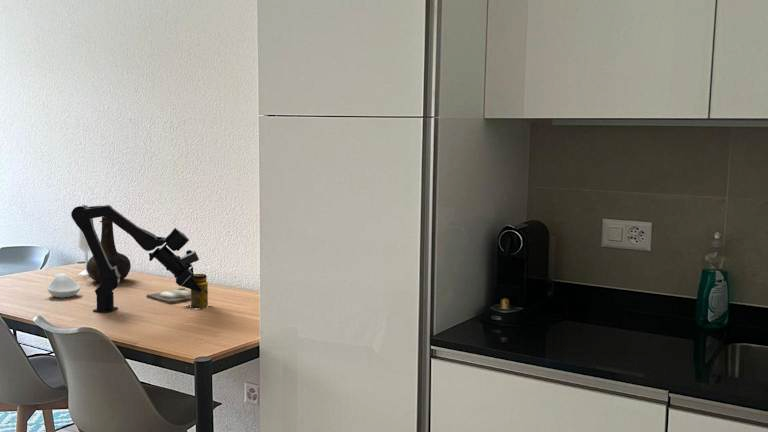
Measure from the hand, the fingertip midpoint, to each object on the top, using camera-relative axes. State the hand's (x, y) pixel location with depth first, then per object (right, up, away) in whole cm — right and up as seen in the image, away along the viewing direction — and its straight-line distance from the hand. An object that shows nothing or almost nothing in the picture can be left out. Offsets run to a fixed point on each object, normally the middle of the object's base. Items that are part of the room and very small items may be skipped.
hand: (200, 288), depth 279 cm
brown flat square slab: (-13, -5, +15) cm, 21 cm away
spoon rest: (-60, -4, +19) cm, 63 cm away
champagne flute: (-66, +1, +59) cm, 89 cm away
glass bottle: (-50, -1, +43) cm, 66 cm away
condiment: (-1, -7, 0) cm, 7 cm away
